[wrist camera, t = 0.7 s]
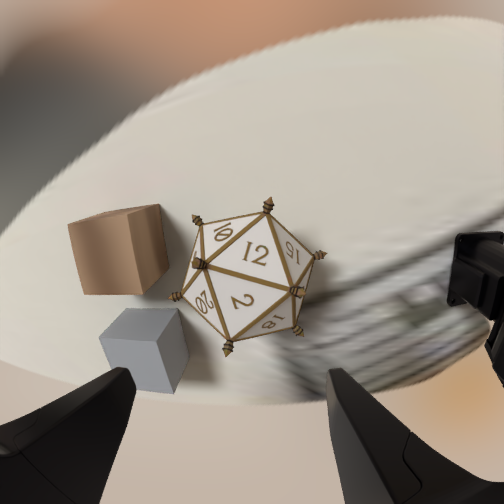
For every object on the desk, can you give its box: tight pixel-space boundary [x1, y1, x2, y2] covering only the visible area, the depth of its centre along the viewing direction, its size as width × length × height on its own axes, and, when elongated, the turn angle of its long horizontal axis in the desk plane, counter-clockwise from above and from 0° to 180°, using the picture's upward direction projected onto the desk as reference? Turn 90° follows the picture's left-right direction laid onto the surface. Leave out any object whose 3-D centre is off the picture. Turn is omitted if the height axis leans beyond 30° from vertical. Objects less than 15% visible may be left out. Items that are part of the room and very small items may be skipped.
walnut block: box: [68, 204, 169, 295], centre depth 18 cm, size 5×5×5 cm
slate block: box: [99, 308, 189, 394], centre depth 21 cm, size 5×5×5 cm
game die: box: [168, 197, 327, 357], centre depth 16 cm, size 9×8×10 cm
